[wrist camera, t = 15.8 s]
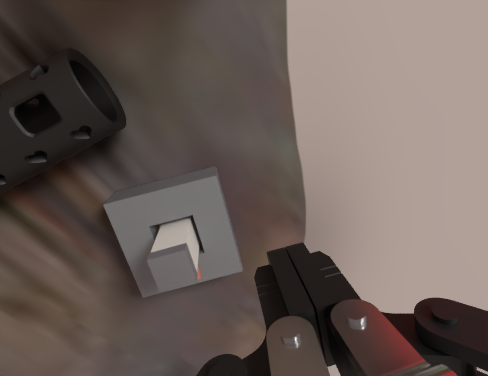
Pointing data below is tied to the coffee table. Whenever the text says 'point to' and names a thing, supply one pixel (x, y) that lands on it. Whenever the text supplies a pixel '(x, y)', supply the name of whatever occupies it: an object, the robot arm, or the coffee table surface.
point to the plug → (175, 254)
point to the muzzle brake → (53, 116)
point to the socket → (171, 208)
